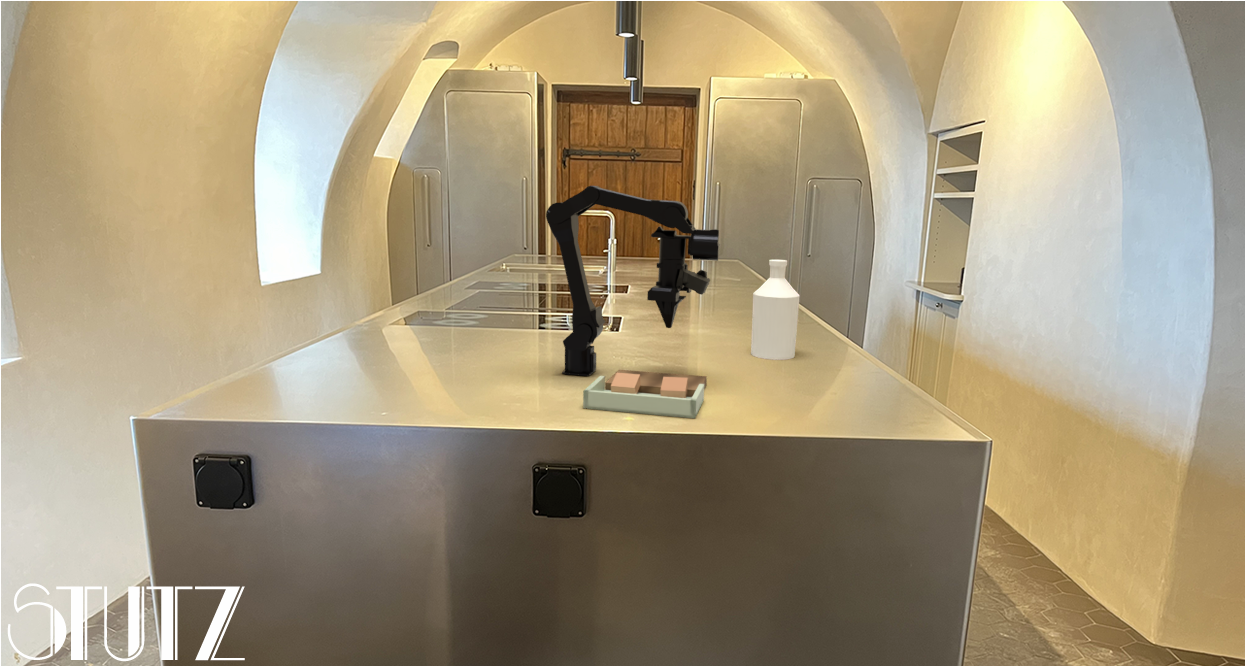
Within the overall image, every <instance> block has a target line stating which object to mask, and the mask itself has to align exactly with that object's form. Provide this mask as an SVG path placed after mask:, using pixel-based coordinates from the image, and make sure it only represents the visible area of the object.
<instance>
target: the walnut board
mask: <svg viewBox="0 0 1250 666" xmlns="http://www.w3.org/2000/svg"><path fill="white" fill-rule="evenodd" d="M616 373H628V374H640V381H641V385H640V387H639V390H638V392H637V393H648V394H660V395H661V392H660V390H661V385H662V381H663V377H682V378H688V390H687V396H686V397H692V396H693V395H694V393H695V391H696V389H697V387H698V385H699V384H704V390H705V389H706V387H707V383H708V382H707V379H708V378H707V377H708V376H706V375H692V374H681V373H670V372H668V373H667V372H655V371H643V370H630V369H618V370H617V371H616V372H615V373H614V374H613V375H611V376H610V377H609V378H608V379H607V381H606V380H605V390H611V384H612V382H613V380H614V378H615V375H616Z"/></svg>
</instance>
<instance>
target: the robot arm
mask: <svg viewBox="0 0 1250 666" xmlns="http://www.w3.org/2000/svg"><path fill="white" fill-rule="evenodd" d="M595 205H598V206H602V207H606V208H610V209H614V210H618V211H621V212H622V211H623V212H627V213H631V214H634V215H639V216H643V217H644V218H647V219H649V220H651V221H653V222H655V223H657V224H660V225H659V226H657V228H656V230H655V231H653V233H651V234H650V237H651V238H659V250H658V251H659V253H658V256H659V257H658V262H657V263H656V269H658V278H657V279H658V280H657V281H656V282H655V285H654V286H652V287H651V288H650V289H649V290H647V299H646V300H647V301H651V302H653V301H654V302H655V304H656V306H657V307H658V310H659V312H660V315H661V317H662V320H663V323H664V325H665V328H666V329H672V327H673V324H674V320H675V318H676V313H677V309H678V306H679V304H680V303H681V302H682V301H684V299H686V297H687V296H686V295H681V292H686V293H687V294H690V293H692V291H694V292H695V293H696V294H699V295H704V294H705V293H706V292H707V289H708V286H709V285H710V281H711V279H710V278H708V272H707V271H705V270H704V269H700V270H699V271H697V272H695V271H692V270H689V268H688V266H689V265H688V263H687V262H686V261H685V260H686V247H687V255H689V256H691V257H692V260H693V261H694V260H695V261H697V260H698V261H719V259H720V258H719V256H720V245H721V244H720V229H719V228H718V229H717V228H713V229H696V227H695V225H694V224H693V223H692V222H691V220H690V219H689V211H688V208H687V206H686V205H685V203H683V202H681V201H679V200H666V199H665V200H664V199H647V198H643V197H640V196H639V197H638V196H635V195H630V194H627V193H623V192H618V191H615V190H610V189H606V188H602V187H600V186H599V185H589V186H587V187H585V188H584V189H582V190H581V191H580V192H578V193H576V194H575V195H573V196H571V197H569V198H567V199H566V200H564V201H563V202H562V201H561V202H554V203H552V204H551V205H550V206H549V207H548V208H547V210H546V213H545V219H546V221H547V224H548V226H549V228H550V231H551V233H552V235H553V237H554V238H555V240H556V242H557V243H558V246H559V250H560V254H561V257H562V258H561V259H562V262H563V266H564V270H565V276H566V279H567V283H568V284H567V285H568V290H569V292H570V297H571V301H572V302H571V303H572V315H571V323H572V324H571V325H572V332H571V333H570V334H569V335H567V337H566V338H565V339H563V340H562V344H563V346H564V370H563V371H562V375H569V376H570V375H572V376H584V377H589V376H591V375H592V374H593V373H594V372H596V371H597V352H595V345H592V344H594V342H595V340H596V339H597V338H598V337H599V336H600V335H601V334H602V332H603V330H604V324H605V323H606V321H605V319H604V317H603V308H602V305H599V306H595V304H594V302H593V301H592V299H591V297H592V296H591V294H590V289H589V284H588V280H587V275H586V271H585V268H584V267H585V266H584V263H583V258H582V254H581V253H582V252H581V249H580V244H579V230H580V229H579V223H580V222H579V217H580V216H581V215H584V213H586V212H587V211H589V209H591V208H592V207H594V206H595ZM662 226H664V227H666V228H669V229H664V228H663V227H662ZM671 229H674V230H671ZM675 229H677V230H678V231H679V232H680V233H682V234H683V235H682V234H677V233H678V232H677V230H675ZM685 234H687V235H685ZM688 234H690V235H688ZM687 240H688V242H687V246H686V241H687Z"/></svg>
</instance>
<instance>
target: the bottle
mask: <svg viewBox="0 0 1250 666" xmlns="http://www.w3.org/2000/svg"><path fill="white" fill-rule="evenodd" d="M768 264H769V277H768V278H767V280H766V281H764V282H763V284H762V285H760V287H759V288H758V289H756V290H755V291H754V292H753V293H752V313H751V314H752V316H751V317H752V318H751V319H752V320H751V340H750V341H751V342H750V344H751V346H750V348H751V349H750V355H751V356H753V357H756V358H759V359H765V360H774V361H777V360H778V361H779V360H780V361H784V360H791V359H793V358H795V356H796V355H795V353H796V342H797V341H796V340H797V333H798V332H797V330H798V321H799V320H798V319H799V307H800V296H801V295H800V294H799V293H798V291H796V290H795V289H794V288H793V287H792V285H791V284H790V283H789V281H788V280H787V279H786V269H787V268H786V267H787V266H788V260H787V259H769V263H768Z"/></svg>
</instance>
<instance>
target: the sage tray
mask: <svg viewBox="0 0 1250 666" xmlns="http://www.w3.org/2000/svg"><path fill="white" fill-rule="evenodd" d="M605 382H606V375H599V376H598V377H597V378H596V379H595V380H594V381H593V382H592V383H590V384H589V385H588V386H587V387H586V388H585V389H584V390H583V394H582V396H583V398H582V400H583V402H582V406H583V407H582V408H583V409H586V408H587V409H588V410H596V411H597V410H598V411H610V412H621V413H631V414H642V415H652V416H654V415H655V416H663V417H674V418H683V419H684V418H686V419H696V418H697V416H698V413H699V411H700V409H701V407H702V405H703V403H704V399H705V389H704V384H699V385H698V387H697V389H696V391H695V393H694V395H693V396H692V397H686V398H676V397H665V396H661V395H660V394H648V393H637V394H630V393H618V392H611V390H605Z"/></svg>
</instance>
